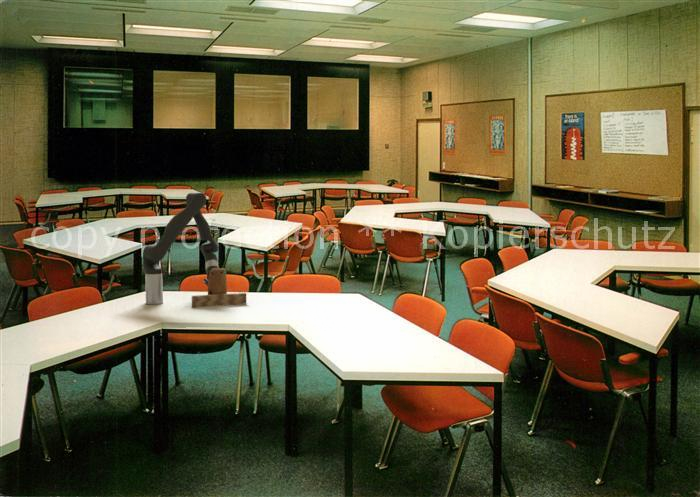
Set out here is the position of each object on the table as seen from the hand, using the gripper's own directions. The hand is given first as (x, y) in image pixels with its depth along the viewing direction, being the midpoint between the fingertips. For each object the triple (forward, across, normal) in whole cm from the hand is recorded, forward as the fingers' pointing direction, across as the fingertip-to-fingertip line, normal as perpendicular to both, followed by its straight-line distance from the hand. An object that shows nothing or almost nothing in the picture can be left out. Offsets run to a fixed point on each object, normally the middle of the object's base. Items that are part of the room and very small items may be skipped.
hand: (215, 292), depth 343 cm
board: (+13, 0, -6) cm, 14 cm away
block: (+8, 0, 0) cm, 8 cm away
